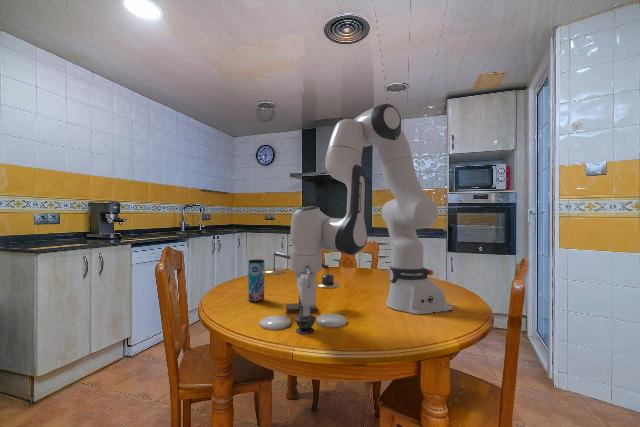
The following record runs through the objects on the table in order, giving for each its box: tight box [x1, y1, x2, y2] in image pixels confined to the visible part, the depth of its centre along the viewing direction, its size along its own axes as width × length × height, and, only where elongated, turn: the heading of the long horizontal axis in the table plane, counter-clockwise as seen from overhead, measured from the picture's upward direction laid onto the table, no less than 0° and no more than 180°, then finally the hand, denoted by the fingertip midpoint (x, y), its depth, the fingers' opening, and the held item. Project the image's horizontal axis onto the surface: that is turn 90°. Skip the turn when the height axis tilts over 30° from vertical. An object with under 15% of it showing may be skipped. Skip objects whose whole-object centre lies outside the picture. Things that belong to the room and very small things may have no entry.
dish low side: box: [316, 313, 347, 328], centre depth 94 cm, size 9×9×1 cm
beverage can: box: [247, 259, 265, 303], centre depth 115 cm, size 6×6×15 cm
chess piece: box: [294, 300, 317, 335], centre depth 86 cm, size 6×6×12 cm
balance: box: [262, 251, 340, 315], centre depth 104 cm, size 26×8×20 cm, turn 97°
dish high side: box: [259, 315, 291, 331], centre depth 91 cm, size 9×9×1 cm
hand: (305, 312), depth 87 cm, fingers closed on chess piece, 3 cm apart
